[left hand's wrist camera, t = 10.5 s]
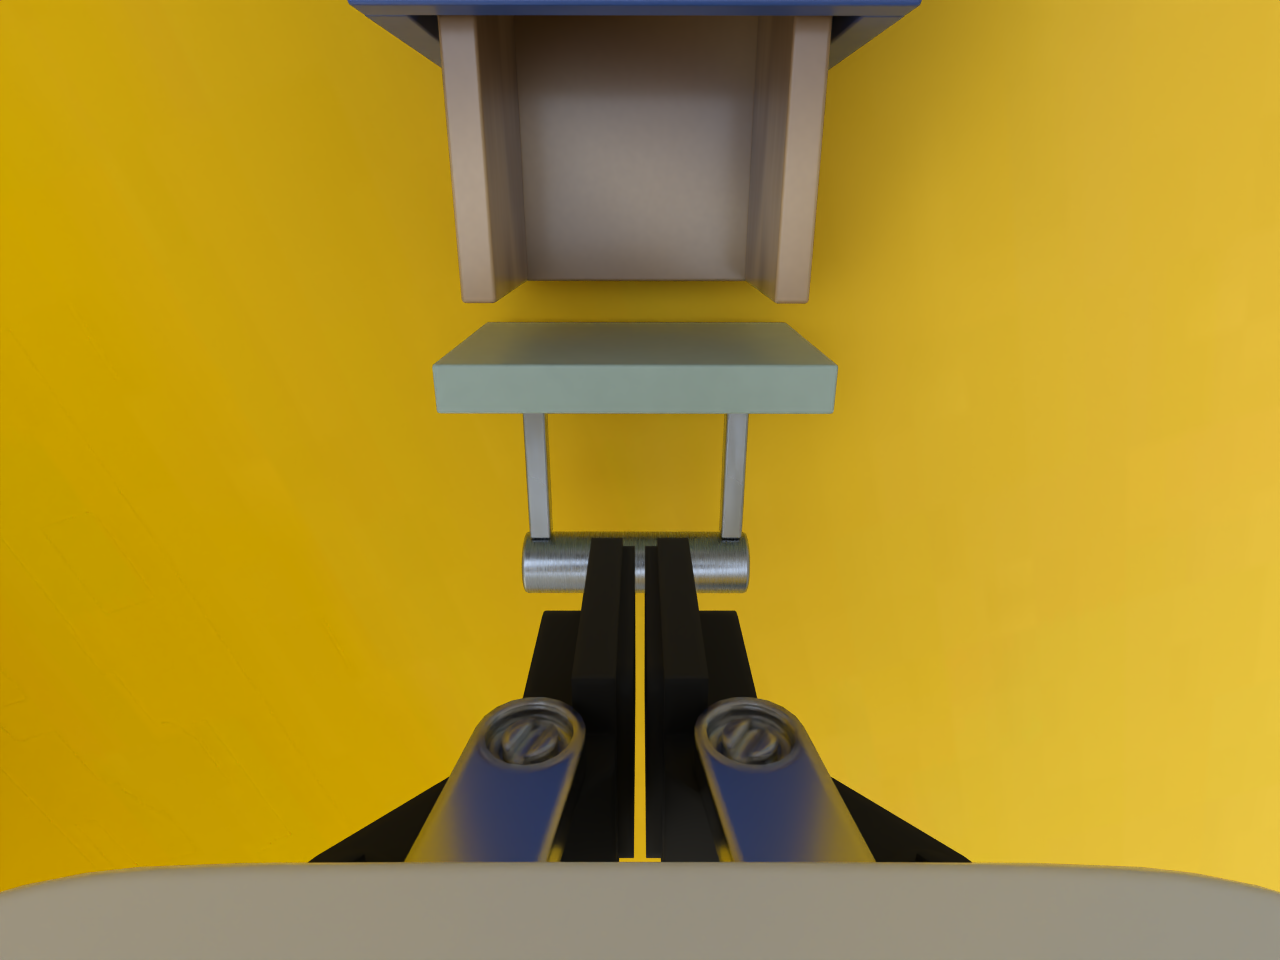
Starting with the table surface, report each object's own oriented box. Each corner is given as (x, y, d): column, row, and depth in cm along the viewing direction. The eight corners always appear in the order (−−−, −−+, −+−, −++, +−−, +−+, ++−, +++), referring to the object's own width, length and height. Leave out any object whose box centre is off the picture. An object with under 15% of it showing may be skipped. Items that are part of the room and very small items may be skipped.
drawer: (770, 530, 25) (811, 632, 19) (502, 529, 25) (459, 631, 19) (818, -119, 19) (904, -274, 13) (453, -120, 19) (363, -274, 13)
